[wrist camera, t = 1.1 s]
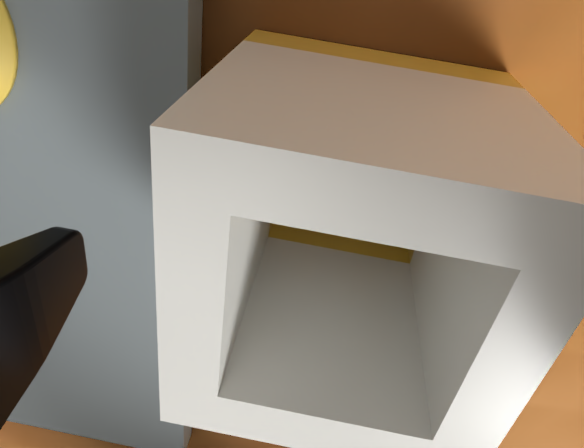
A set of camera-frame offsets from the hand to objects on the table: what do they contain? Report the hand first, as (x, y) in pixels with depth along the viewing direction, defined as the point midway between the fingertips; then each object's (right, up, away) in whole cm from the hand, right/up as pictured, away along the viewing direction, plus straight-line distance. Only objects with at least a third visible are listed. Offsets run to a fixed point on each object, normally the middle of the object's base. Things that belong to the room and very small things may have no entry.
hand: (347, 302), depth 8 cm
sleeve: (+1, +3, +4) cm, 5 cm away
